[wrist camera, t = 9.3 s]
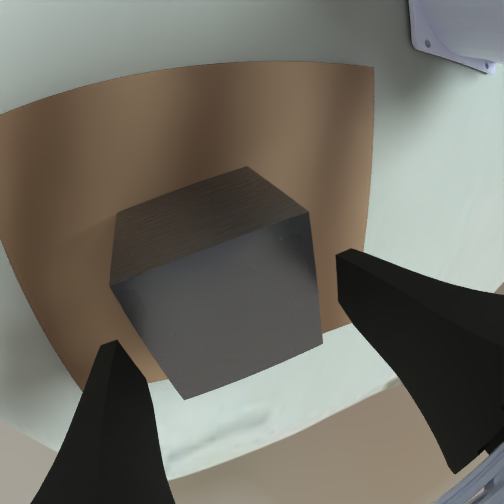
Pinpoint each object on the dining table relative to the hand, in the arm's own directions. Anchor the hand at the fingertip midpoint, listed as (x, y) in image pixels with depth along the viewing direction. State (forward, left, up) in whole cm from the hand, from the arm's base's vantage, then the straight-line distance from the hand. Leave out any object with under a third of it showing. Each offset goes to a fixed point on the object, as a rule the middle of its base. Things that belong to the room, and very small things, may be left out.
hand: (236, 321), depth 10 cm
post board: (0, 0, -6) cm, 6 cm away
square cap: (0, 0, -5) cm, 5 cm away
